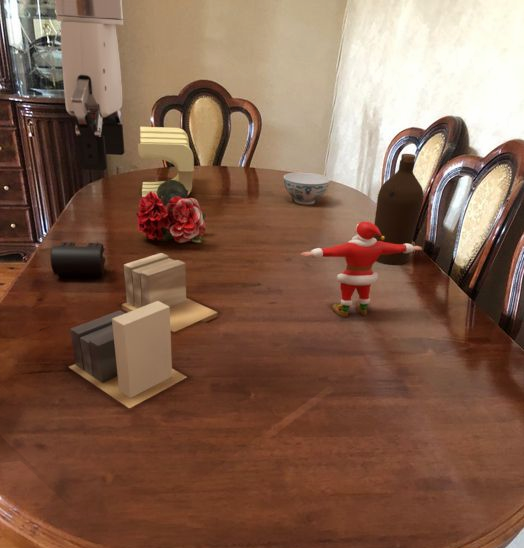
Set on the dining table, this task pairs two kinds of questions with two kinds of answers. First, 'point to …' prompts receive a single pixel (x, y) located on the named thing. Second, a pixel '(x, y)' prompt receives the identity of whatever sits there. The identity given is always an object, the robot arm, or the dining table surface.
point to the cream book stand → (163, 290)
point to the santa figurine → (359, 264)
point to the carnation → (171, 214)
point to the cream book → (143, 348)
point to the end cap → (78, 260)
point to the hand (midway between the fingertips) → (104, 161)
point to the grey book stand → (107, 360)
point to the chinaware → (306, 186)
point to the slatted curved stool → (167, 154)
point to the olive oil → (399, 209)
